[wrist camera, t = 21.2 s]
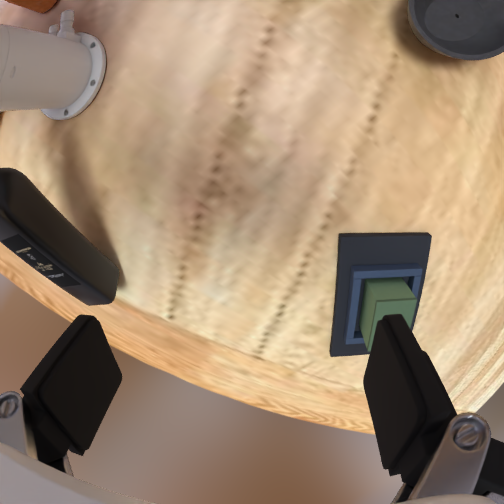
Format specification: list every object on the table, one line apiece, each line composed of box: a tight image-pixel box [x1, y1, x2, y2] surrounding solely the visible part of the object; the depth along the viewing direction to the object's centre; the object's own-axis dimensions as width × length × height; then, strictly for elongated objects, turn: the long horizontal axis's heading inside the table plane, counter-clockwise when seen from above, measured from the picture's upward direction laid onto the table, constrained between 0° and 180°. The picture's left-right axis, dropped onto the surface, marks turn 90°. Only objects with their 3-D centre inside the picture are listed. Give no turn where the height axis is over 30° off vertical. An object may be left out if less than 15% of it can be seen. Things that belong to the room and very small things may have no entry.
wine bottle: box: [0, 168, 119, 306], centre depth 25 cm, size 6×6×30 cm
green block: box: [359, 277, 417, 351], centre depth 33 cm, size 7×5×6 cm
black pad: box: [330, 233, 432, 357], centre depth 35 cm, size 18×12×3 cm, turn 4°
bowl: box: [407, 0, 504, 60], centre depth 18 cm, size 12×22×6 cm, turn 129°
